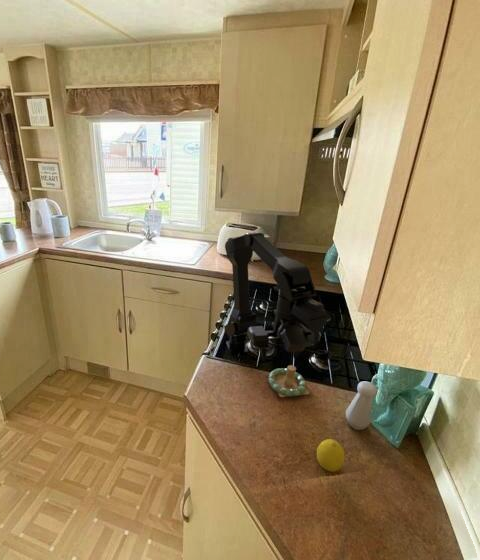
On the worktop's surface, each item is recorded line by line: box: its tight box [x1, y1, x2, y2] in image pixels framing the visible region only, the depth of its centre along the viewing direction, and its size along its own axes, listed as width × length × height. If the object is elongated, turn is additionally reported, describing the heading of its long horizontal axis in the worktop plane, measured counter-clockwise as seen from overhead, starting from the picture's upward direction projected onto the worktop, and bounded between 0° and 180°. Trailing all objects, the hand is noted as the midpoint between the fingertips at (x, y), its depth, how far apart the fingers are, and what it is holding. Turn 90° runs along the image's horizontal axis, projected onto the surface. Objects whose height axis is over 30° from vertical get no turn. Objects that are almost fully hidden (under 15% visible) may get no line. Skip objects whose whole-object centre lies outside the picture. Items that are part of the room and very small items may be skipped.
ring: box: [268, 367, 307, 397], centre depth 93 cm, size 11×11×2 cm
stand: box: [275, 364, 311, 398], centre depth 92 cm, size 9×9×7 cm
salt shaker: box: [345, 380, 378, 431], centre depth 79 cm, size 6×6×13 cm
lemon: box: [316, 438, 346, 473], centre depth 69 cm, size 6×6×8 cm
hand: (279, 359), depth 88 cm, fingers open, 9 cm apart
